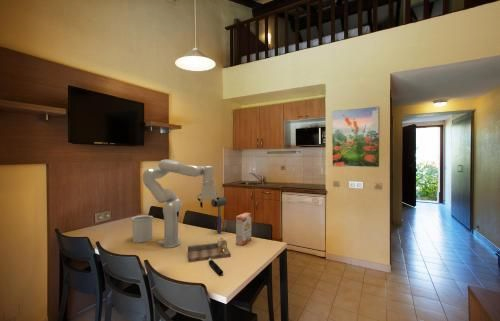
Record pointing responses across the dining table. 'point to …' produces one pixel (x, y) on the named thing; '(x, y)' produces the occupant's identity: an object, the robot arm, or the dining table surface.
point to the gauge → (221, 244)
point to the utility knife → (215, 267)
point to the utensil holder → (142, 228)
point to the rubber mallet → (219, 211)
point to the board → (206, 252)
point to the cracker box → (243, 228)
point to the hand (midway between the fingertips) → (208, 207)
